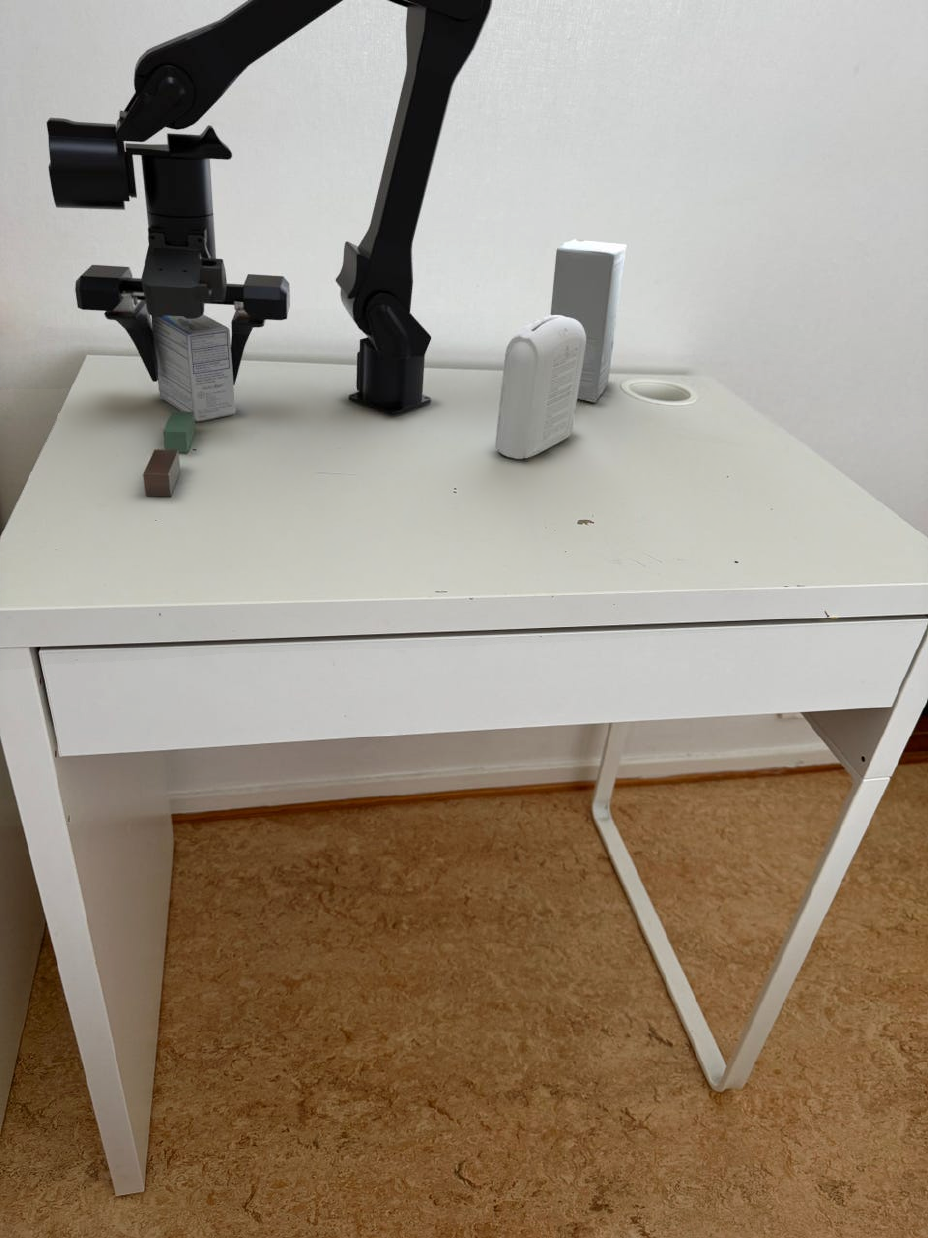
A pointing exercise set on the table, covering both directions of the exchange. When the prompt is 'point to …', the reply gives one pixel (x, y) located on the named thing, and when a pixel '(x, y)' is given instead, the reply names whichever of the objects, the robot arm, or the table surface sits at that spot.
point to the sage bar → (179, 431)
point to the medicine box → (195, 365)
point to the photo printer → (540, 386)
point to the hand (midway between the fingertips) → (194, 382)
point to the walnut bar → (161, 473)
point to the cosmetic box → (590, 303)
